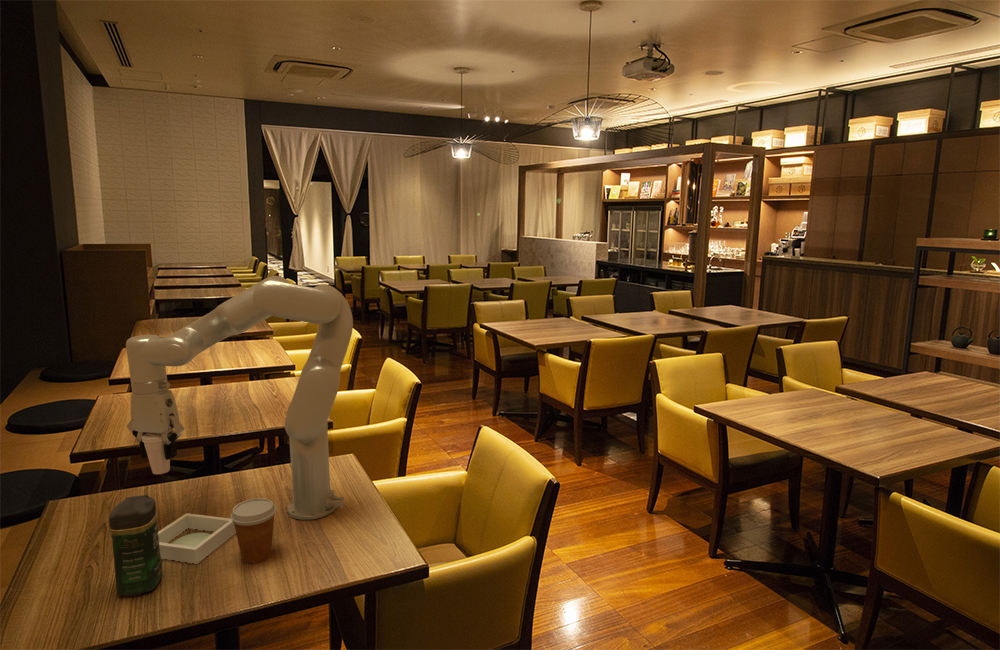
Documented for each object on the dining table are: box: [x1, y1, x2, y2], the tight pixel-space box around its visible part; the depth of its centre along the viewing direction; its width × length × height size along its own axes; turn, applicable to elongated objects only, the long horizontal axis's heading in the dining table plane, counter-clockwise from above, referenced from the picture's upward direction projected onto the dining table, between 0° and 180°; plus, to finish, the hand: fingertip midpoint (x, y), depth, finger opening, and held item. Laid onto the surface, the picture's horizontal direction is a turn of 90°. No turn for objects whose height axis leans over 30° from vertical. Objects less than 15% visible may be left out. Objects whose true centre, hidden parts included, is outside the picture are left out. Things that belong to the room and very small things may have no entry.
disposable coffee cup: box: [230, 497, 277, 564], centre depth 135 cm, size 10×10×12 cm
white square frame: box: [158, 512, 236, 565], centre depth 141 cm, size 14×14×4 cm
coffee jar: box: [108, 494, 163, 597], centre depth 124 cm, size 10×8×19 cm
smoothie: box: [142, 432, 171, 475], centre depth 146 cm, size 6×6×14 cm
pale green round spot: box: [171, 532, 211, 547], centre depth 141 cm, size 9×9×1 cm
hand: (159, 456), depth 146 cm, fingers closed on smoothie, 6 cm apart
